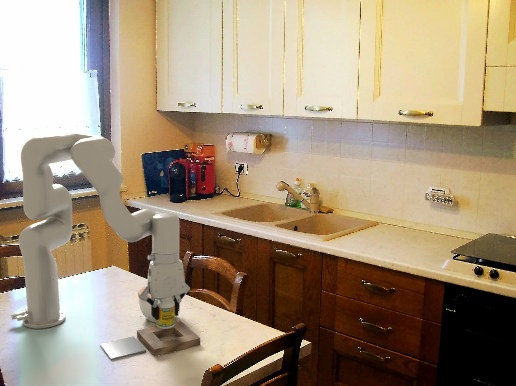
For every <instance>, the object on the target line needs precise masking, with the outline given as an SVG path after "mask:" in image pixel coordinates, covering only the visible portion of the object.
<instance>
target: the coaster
mask: <svg viewBox="0 0 516 386" xmlns="http://www.w3.org/2000/svg"><path fill="white" fill-rule="evenodd" d="M99 345H100V346H99V347H100V348H101V349H102V351H103V352H104V354H105V355H106V356H107V357H108V359H109V360H110V361H111V362H113V361H116V360H119V359H123V358H124V359H125V358H127V357H131V356H135V355H139V354H143V353H146V352H147V348H146V347H145V346H144V345H143V344H142V343H140V342H139V339H138V338H137V337H135V336H130V337H125V338H120V339H117V340H112V341H107V342H104V343H100V344H99Z"/></svg>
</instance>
